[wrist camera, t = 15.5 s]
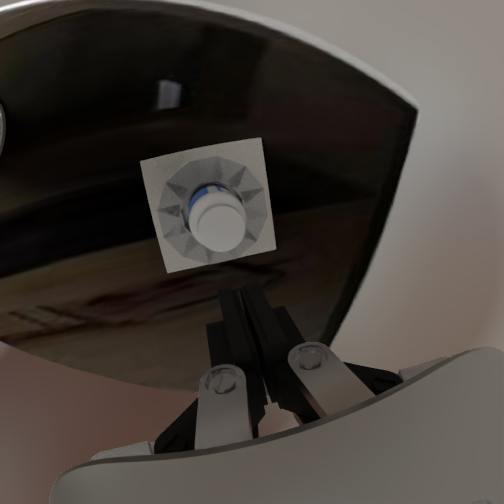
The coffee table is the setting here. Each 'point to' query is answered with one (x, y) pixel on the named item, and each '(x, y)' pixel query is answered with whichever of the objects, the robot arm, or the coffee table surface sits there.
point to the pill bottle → (216, 218)
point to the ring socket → (195, 176)
